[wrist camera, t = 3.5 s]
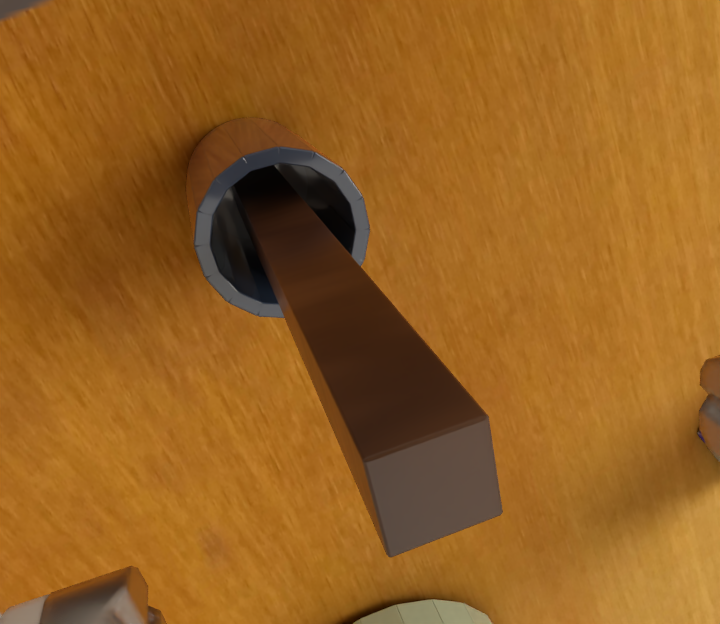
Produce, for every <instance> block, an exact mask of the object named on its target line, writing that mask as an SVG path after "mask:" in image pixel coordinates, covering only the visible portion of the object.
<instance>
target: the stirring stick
mask: <svg viewBox="0 0 720 624" xmlns="http://www.w3.org/2000/svg"><path fill="white" fill-rule="evenodd" d="M232 190H233V193H234V197H235V200H236V203H237V207H238V210H239V213H240V215H241V218H242V220H243V222H244V225H245V227H246V229H247V232H248V234H249V236H250V238H251V241H252V243H253V245H254V248H255V250H256V252H257V255H258V257H259V259H260V262H261V264H262V266H263V269H264V271H265V273H266V276H267V278H268V280H269V283H270V285H271V287H272V290H273V292H274V294H275V296H276V299H277V301H278V303H279V306H280V308H281V310H282V313H283V315H284V317H285V320H286V322H287V324H288V327H289V329H290V331H291V334H292V336H293V338H294V341H295V343H296V345H297V348H298V350H299V352H300V355H301V357H302V359H303V361H304V364H305V366H306V368H307V371H308V373H309V375H310V378H311V380H312V382H313V385H314V387H315V389H316V392H317V394H318V396H319V399H320V401H321V403H322V406H323V408H324V410H325V413H326V415H327V417H328V420H329V422H330V424H331V426H332V429H333V431H334V433H335V436H336V438H337V440H338V443H339V445H340V447H341V450H342V452H343V454H344V457H345V459H346V461H347V464H348V466H349V468H350V471H351V473H352V475H353V478H354V480H355V482H356V485H357V487H358V489H359V491H360V494H361V496H362V498H363V501H364V503H365V505H366V508H367V510H368V512H369V515H370V517H371V519H372V522H373V524H374V526H375V529H376V531H377V533H378V536H379V538H380V540H381V543H382V545H383V547H384V549H385V552H386V554H387V555H388V556H389V557H393V556H396V555H399V554H401V553H404V552H406V551H409V550H412V549H414V548H417V547H419V546H422V545H425V544H427V543H430V542H432V541H435V540H437V539H440V538H443V537H445V536H448V535H450V534H453V533H456V532H458V531H461V530H463V529H466V528H468V527H471V526H474V525H476V524H479V523H481V522H484V521H487V520H489V519H492V518H494V517H497V516H500V515H501V514H502V512H503V511H502V504H501V497H500V491H499V484H498V477H497V470H496V464H495V457H494V450H493V443H492V437H491V430H490V423H489V417H488V415H487V414H486V413H485V412H484V410H483V409H482V408H481V407H480V406H479V405H478V403H477V402H476V401H475V400H474V399H473V398H472V396H471V395H470V394H469V393H468V392H467V391H466V389H465V388H464V387H463V386H462V385H461V384H460V382H459V381H458V380H457V379H456V378H455V377H454V375H453V374H452V373H451V372H450V371H449V369H448V368H447V367H446V366H445V365H444V364H443V362H442V361H441V360H440V359H439V358H438V357H437V355H436V354H435V353H434V352H433V351H432V350H431V348H430V347H429V346H428V345H427V344H426V343H425V341H424V340H423V339H422V338H421V337H420V336H419V334H418V333H417V332H416V331H415V330H414V329H413V327H412V326H411V325H410V324H409V323H408V322H407V320H406V319H405V318H404V317H403V316H402V315H401V313H400V312H399V311H398V310H397V309H396V308H395V306H394V305H393V304H392V303H391V302H390V300H389V299H388V298H387V297H386V296H385V295H384V293H383V292H382V291H381V290H380V289H379V288H378V286H377V285H376V284H375V283H374V282H373V281H372V279H371V278H370V277H369V276H368V275H367V274H366V272H365V271H364V270H363V269H362V268H361V267H360V265H359V264H358V263H357V262H356V261H355V260H354V258H353V257H352V256H351V255H350V254H349V253H348V251H347V250H346V249H345V248H344V247H343V246H342V244H341V243H340V242H339V241H338V240H337V239H336V237H335V236H334V235H333V234H332V233H331V232H330V230H329V229H328V228H327V227H326V226H325V224H324V223H323V222H322V221H321V220H320V219H319V217H318V216H317V215H316V214H315V213H314V212H313V210H312V209H311V208H310V207H309V206H308V205H307V203H306V202H305V201H304V200H303V199H302V198H301V196H300V195H299V194H298V193H297V192H296V191H295V189H294V188H293V187H292V186H291V185H290V184H289V182H288V181H287V180H286V179H285V178H284V177H283V175H282V174H281V173H280V172H279V171H278V170H277V168H276V167H275V166H274V165H272V166H268V167H265V168H261V169H258V170H254V171H251V172H249V173H248V174H247V175H246V176H244V177H243V178H242V179H241V180H239V181H238V182H237V183H235V184H234V185H233V186H232Z"/></svg>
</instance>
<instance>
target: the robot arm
mask: <svg viewBox="0 0 720 624" xmlns="http://www.w3.org/2000/svg"><path fill="white" fill-rule="evenodd" d="M700 386H701V387H702V388H703V389H704V390H705V391H706V392H707V393H708V394H709V395H708V396H707V398H706V400H705V401H704V403H703V405H702V407H701V408H700V410H699V427H700V432H701V434H702V436H703V439H704V441H705V443H706V446H707V448H708V449H709V450H710V451H711V453H712V454H713V455H714V456H715V458H716V459H717V460H718V461H719V462H720V355H718V356H715V357H713V358H710V359H707V360H706V361H705V363H704V365H703V366H702V368H701V371H700ZM0 624H167V623H166V621H165V619H164V617H163V615H162V613H161V611H160V610H157V609H155V608H153V607H150V606H148V585H147V583H146V582H145V580H144V578H143V576H142V574H141V573H140V571H139V569H138V568H136V567H133V566H129V567H126V568H123V569H120V570H117V571H114V572H111V573H108V574H105V575H102V576H99V577H96V578H93V579H90V580H87V581H84V582H81V583H78V584H75V585H72V586H69V587H66V588H63V589H60V590H57V591H54V592H51V594H49V595H45V596H42V597H39V598H36V599H33V600H30V601H27V602H24V603H21V604H18V605H15V606H12V607H9V608H8V609H7V610H6V611H5V613H4V614H3V615H2V616H1V618H0Z"/></svg>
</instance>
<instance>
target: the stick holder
mask: <svg viewBox="0 0 720 624" xmlns="http://www.w3.org/2000/svg"><path fill="white" fill-rule="evenodd" d="M272 165H274V166H275V167H276V168H277V170H278V171H279V172H280V173H281V174H282V175H283V177H284V178H285V179H286V180H287V181H288V182H289V184H290V185H291V186H292V187H293V188H294V189H295V191H296V192H297V193H298V194H299V195H300V196H301V198H302V199H303V200H304V201H305V202H306V203H307V205H308V206H309V207H310V208H311V209H312V210H313V212H314V213H315V214H316V215H317V216H318V217H319V219H320V220H321V221H322V222H323V223H324V224H325V226H326V227H327V228H328V229H329V230H330V232H331V233H332V234H333V235H334V236H335V237H336V239H337V240H338V241H339V242H340V243H341V244H342V246H343V247H344V248H345V249H346V250H347V251H348V253H349V254H350V255H351V256H352V257H353V258H354V260H355V261H356V262H357V263H358V264H359V265H360V267H361V265H362V263H363V261H364V259H365V255H366V249H367V244H368V238H369V233H370V229H369V228H370V225H369V221H368V216H367V211H366V207H365V202H364V198H363V197H362V194H361V192H360V191H359V189H358V188H357V187H356V185H355V184H354V182H353V181H352V180H351V178H350V177H349V175H348V174H347V172H346V171H345V170H344V169H343V168H342V167H340V166H339V165H338V164H336V163H335V162H334V161H332V160H331V159H330V158H328V157H327V156H325V155H324V154H323V153H321V152H320V151H319V150H317V149H316V148H315V147H313V146H312V145H311V144H309V143H308V142H306V141H305V140H304V139H302V138H301V137H300V136H298V135H297V134H295V133H294V132H292V131H290V130H289V129H287V128H286V127H284V126H282V125H281V124H279V123H277V122H275V121H271V120H267V119H262V118H253V117H250V118H240V119H234V120H231V121H228V122H226V123H224V124H222V125H220V126H218V127H216V128H215V129H213V130H212V131H210V132H209V133H208V134H207V135H206V136H205V137H204V138H203V139H202V140H201V141H200V143H199V144H198V145H197V147H196V149H195V150H194V152H193V154H192V156H191V159H190V162H189V165H188V169H187V176H186V196H187V203H188V210H189V216H190V223H191V230H192V237H193V244H194V249H195V252H196V255H197V257H198V260H199V263H200V266H201V269H202V272H203V275H204V277H205V278H206V280H207V281H208V282H209V283H210V284H211V285H212V286H213V288H214V289H215V290H216V291H217V292H218V293H219V294H220V295H221V296H222V297H223V298H224V299H225V301H227V302H228V303H230V304H232V305H234V306H236V307H238V308H240V309H243V310H245V311H247V312H249V313H251V314H254V315H256V316H257V315H258V316H259V317H277V318H285V317H284V315H283V313H282V310H281V308H280V306H279V303H278V301H277V299H276V296H275V294H274V292H273V290H272V287H271V285H270V283H269V280H268V278H267V276H266V273H265V271H264V269H263V266H262V264H261V262H260V259H259V257H258V255H257V252H256V250H255V248H254V245H253V243H252V241H251V238H250V236H249V234H248V232H247V229H246V227H245V225H244V222H243V220H242V218H241V215H240V213H239V210H238V207H237V203H236V200H235V197H234V193H233V190H232V186H233V185H234V184H235V183H237V182H238V181H239V180H241V179H242V178H243V177H244V176H246V175H247V174H248V173H249V172H251V171H254V170H258V169H261V168H265V167H268V166H272Z"/></svg>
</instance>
